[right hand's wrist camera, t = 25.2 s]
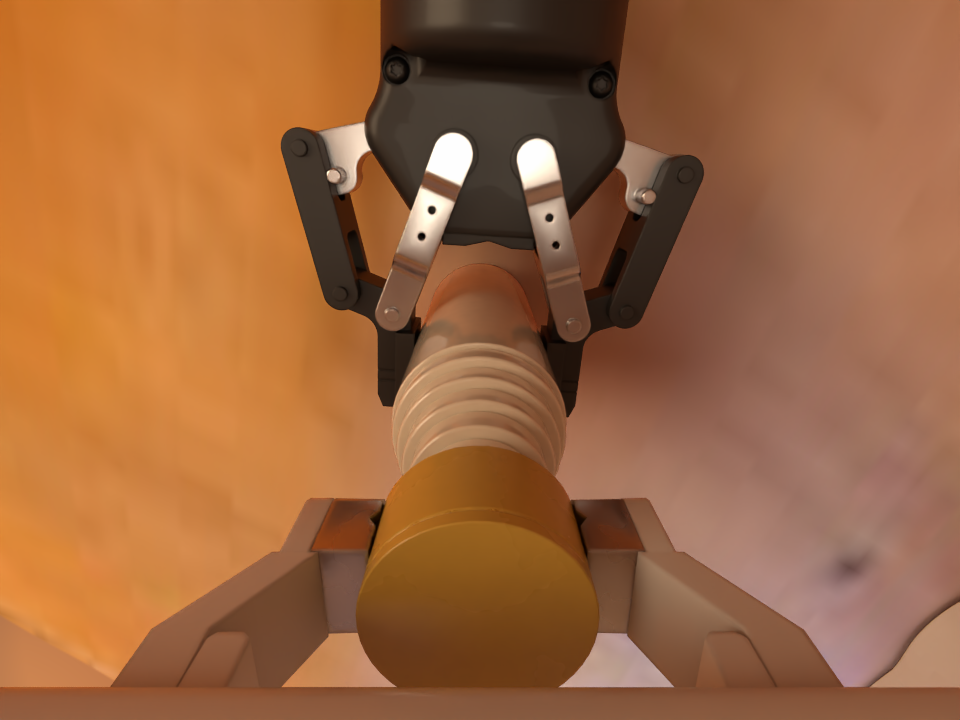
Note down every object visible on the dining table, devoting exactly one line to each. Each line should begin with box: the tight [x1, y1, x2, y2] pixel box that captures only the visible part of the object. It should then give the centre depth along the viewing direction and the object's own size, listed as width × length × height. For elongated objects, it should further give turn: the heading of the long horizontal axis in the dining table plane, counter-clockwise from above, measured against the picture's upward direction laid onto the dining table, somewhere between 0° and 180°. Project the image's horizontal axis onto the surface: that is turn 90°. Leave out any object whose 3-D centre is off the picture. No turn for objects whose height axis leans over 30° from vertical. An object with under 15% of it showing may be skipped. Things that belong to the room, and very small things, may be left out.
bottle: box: [392, 264, 566, 477], centre depth 18 cm, size 5×5×18 cm
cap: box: [356, 446, 600, 687], centre depth 9 cm, size 4×4×2 cm
